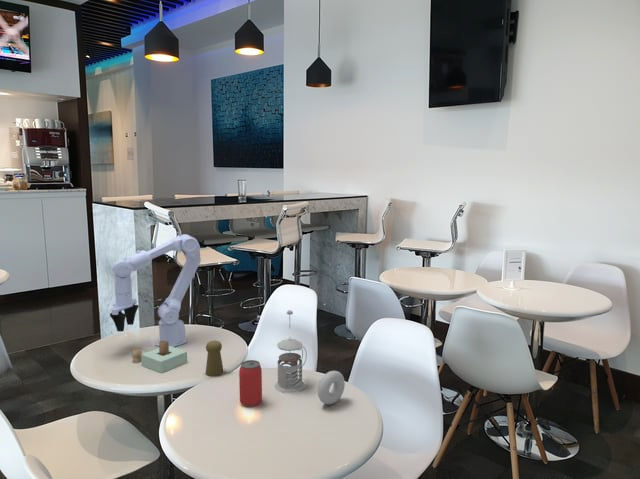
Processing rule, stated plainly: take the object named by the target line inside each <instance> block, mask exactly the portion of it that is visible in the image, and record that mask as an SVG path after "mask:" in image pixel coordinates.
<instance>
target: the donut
mask: <svg viewBox="0 0 640 479" xmlns="http://www.w3.org/2000/svg"><path fill="white" fill-rule="evenodd" d="M345 383H346V382H345V378H344V376H343V374H342V373H341V372H340V371H337V370H330V371H328V372H326V373H325V374H324V375H323V376H322V378H321V379H320V380H319V384H318V386H317V396H318V399H319V400H320V402H321V403H323V404H324V405H328V406H329V405H334V404H335V403H337V402H338V401H339V400H340V399H341V397H342V395H343V394H344V390H345ZM332 385H333V386H332ZM331 386H332V389H331ZM330 389H331V390H330Z"/></svg>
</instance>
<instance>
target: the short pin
mask: <svg viewBox="0 0 640 479" xmlns="http://www.w3.org/2000/svg"><path fill="white" fill-rule="evenodd" d="M141 354H143V350H142V349H141V348H135V349H132V354H131V355H132V363H133V364H138V363H139V364H140V363H141Z"/></svg>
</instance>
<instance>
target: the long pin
mask: <svg viewBox="0 0 640 479" xmlns="http://www.w3.org/2000/svg"><path fill="white" fill-rule="evenodd" d="M158 343H159V346H158V348H159V355H162V356H164V355H167V354H169V342H168V341H160V340H159V342H158Z"/></svg>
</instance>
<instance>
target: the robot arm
mask: <svg viewBox="0 0 640 479" xmlns="http://www.w3.org/2000/svg"><path fill="white" fill-rule="evenodd" d="M200 250H201V246H200V243H199V241H198V240H197V239H196V238H195V237H193V236H191V235H189V234H185V233H183V234H180V235H179V236H175V237H172V238H170V239H169V240H167V241H165V242H163V243H161V244H160V245H157V246H156V247H154V248H151V249H150V250H148V251H146V250H145V249H142V250H139V249H138V250H137V251H135V253H134V254H131V255H130V256H128V257H127V256H125V257H123V259H118V260H117V261H115V263H114V264H113V266H112V271H113V273H114V293H115V295H114V296H115V302H114V303H113V304H112V306H113V308H112V309H111V312H110V313H109V317H110V318H111V320H112V321H113V323H114V325H115V328H116V331H117V332H125V323H126V324H127V326H129V325H130V326H132V325H134V322H135V318H136V314H137V311H138V309H139V305H138V304H137V299H136V298H133V290H132V289H133V287H132V279H131V278H132V277H131V274H132V273H133V272H136V271H138V270H140V269H142V268H145V267H146V266H147V265H150V264H151V262H152V260H153V259H155V258H158V257H160V256H162V255H164V254H167V253H169V252H172V251H173V252H174V251H175V252H182V253H183V254H182V255H183V256H184V258H185V262H184V265H183V266H182V268H181V271H180V272H179V275H178V276H177V279H176V281H175V283H174V284H173V287H172V289H171V292H170V294H169V295H168V297H167V298H165V300H164V302H163V303H162V304H160V306H159V307H158V308H157V315H158V317H159V318H160V320H159V321H158V332H159V333H158V334H159V335H158V336H159V342H160V341H168V342H169V346H171V347H174V348H176V347H177V346H180V345H182V344H185V343H187V342H188V341H187V340H186V326H185V323H184V321H183V320H181V319H179V318H180V315H179V314H180V311H181V308H182V305H181V304H182V301H183V299H184V297H185V295H186V294H187V291H188V288H189V287H190V284H191V282H192V280H193V278H194V277H195V276H194V275H195V274H196V272H197V270H198V267H200V266H199V265H200V263H201V260H202V259H201V251H200ZM123 311H124V312H123ZM159 342H155V344H154V345H155V346H158V347H159Z"/></svg>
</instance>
